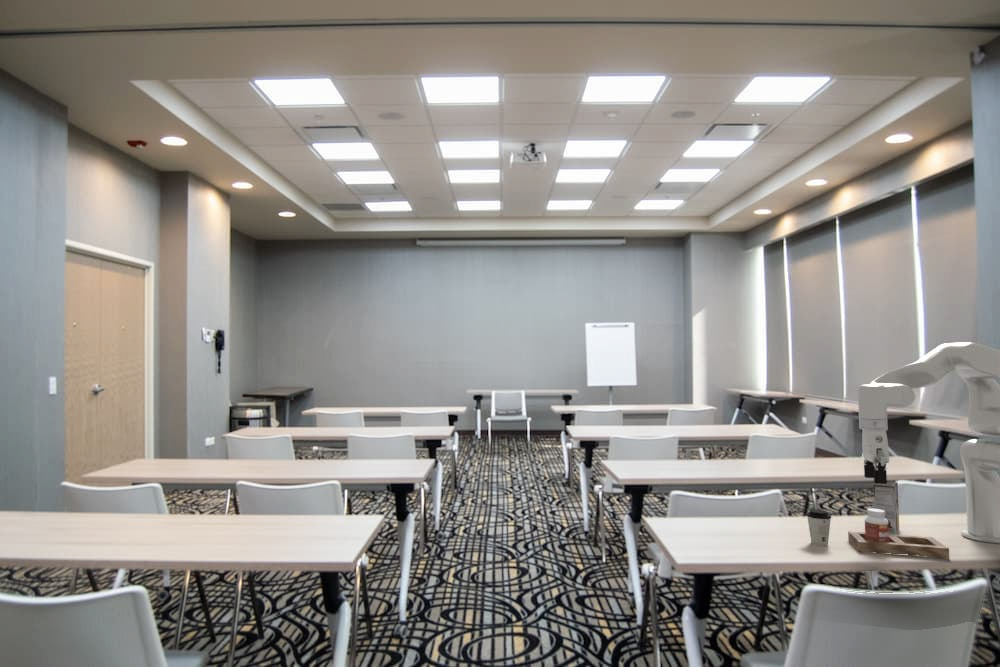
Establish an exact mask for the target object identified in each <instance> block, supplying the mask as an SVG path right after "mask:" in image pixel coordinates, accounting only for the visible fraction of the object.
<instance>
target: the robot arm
mask: <svg viewBox="0 0 1000 667" xmlns="http://www.w3.org/2000/svg"><path fill="white" fill-rule="evenodd" d="M953 371H954V372H955V374H957V375H958V376H959V377H960V378H961V379H962V381H963V382H964V384H966V386H967V389H968V392H969V397H968V398H969V400H968V414H967V415H968V416H967V423H968V424H967V426H968V429H969V430H970V431H971V432H972V433H974V434H976V435H980V436H985V437H986V436H988V437H998V438H1000V384H999V383H998V382H997V380H998V379H999V380H1000V349H997V348H994V347H990V346H988V345H984V344H981V343H976V342H949V343H942V344H939V345H938V346H936V347H935V348H933V349H932V350H930V351H928V352H927V353H925V355H923V356H922V357H920V358H918V359H917V360H916V361H915V362H912V363H909V364H906V365H904V366H901V367H898V368H897V369H893V370H890V371H888V372H886V373H883V374H881V375H879V376H878V377H876V378H875V379H874V380H872V381H871V382H870V383H869V384H861V385H859V386H858V389H857V400H858V406H857V407H858V429H859V430H862V434H861V436H862V440H861V444H862V446H861V448H862V449H861V450H862V451H861V452H862V457H863V460H864V461H863V474H864V478H866V479H867V478H868V479H873V483H874V484H875V483H876V484H887V482H888V481H887V480H888V478H887V475H888V474H887V464H889V463H890V452H889V442H888V441H889V440H888V435H887V431H888V429H889V427H888V425H889V424H888V408H891V409H892V408H893V409H904V408H908V407H910V406H911V405H912V404H913V403H915V400H916V394H915V391H914V390H915V389H921V388H926V387H931V386H933V385H935V384H936V383H938V382H940V380H942V379H944V378H945V377H946V376H948V375H949V374H951V373H952V372H953ZM959 450H960V451H959V453H960V454H959V456H960V459H961V462H962V467H963V470H964V479H965V481H964V482H965V500H966V501H965V502H966V503H965V504H966V505H965V506H966V523H967V524H966V525H967V529H963V530H961V535H962V536H963V537H965V538H968V539H970V540H975V541H979V542H985V543H990V544H1000V475H999V474H998V472H999V473H1000V441H999V440H992V439H982V438H973V439H968V440H966V441H964V442H963V444H961V446H960V449H959Z"/></svg>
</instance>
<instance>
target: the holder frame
mask: <svg viewBox="0 0 1000 667" xmlns="http://www.w3.org/2000/svg"><path fill="white" fill-rule="evenodd" d="M847 534H848V535H847V537H848V538H847V539H848V542H849V543H850V544H851V545H852V546H853V547H854V549H856V550H857V551H858V552H859V551H861V552H860V553H865V552H876V553H875V554H878V553H891V554H908V555H919V556H927V557H926V558H929V557H934V558H933V559H942V558H949V559H950V548H949V547H947V546H946V545H944V544H943V543H942V542H940V541H939V540H937V539H936V538H934V537H933V536H921V535H908V534H904V535H903V534H897V535H894V534H889V542H878V541H866V540H865V531H848V532H847ZM891 554H890V555H891Z"/></svg>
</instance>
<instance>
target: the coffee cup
mask: <svg viewBox="0 0 1000 667" xmlns="http://www.w3.org/2000/svg"><path fill="white" fill-rule="evenodd" d="M806 517H807V523H808V530H809V536H810V542H811V544H812V545H814V544H815V545H814V546H818V545H827V546H828V545H829V540H830V539H829V538H830V529H831V520H832V516H831V514H829V513H828V511H826V510H823V509H815V508H814V509H810V510H809V511H808V512H807V513H806Z"/></svg>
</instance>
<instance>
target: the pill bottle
mask: <svg viewBox="0 0 1000 667" xmlns="http://www.w3.org/2000/svg"><path fill="white" fill-rule="evenodd" d="M866 514H867V515H866V516H865V518H864V532H865V540H866V541H878V542H889V530H888V520H887V519H886V518H884V516H885V511H884V510H880V509H874V508H866Z"/></svg>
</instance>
